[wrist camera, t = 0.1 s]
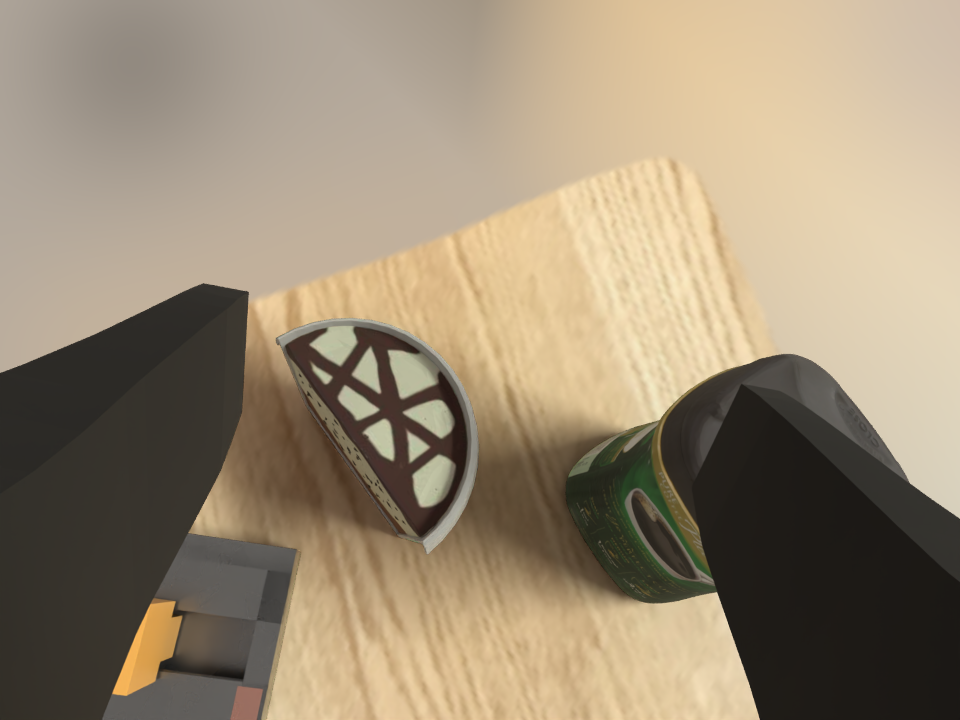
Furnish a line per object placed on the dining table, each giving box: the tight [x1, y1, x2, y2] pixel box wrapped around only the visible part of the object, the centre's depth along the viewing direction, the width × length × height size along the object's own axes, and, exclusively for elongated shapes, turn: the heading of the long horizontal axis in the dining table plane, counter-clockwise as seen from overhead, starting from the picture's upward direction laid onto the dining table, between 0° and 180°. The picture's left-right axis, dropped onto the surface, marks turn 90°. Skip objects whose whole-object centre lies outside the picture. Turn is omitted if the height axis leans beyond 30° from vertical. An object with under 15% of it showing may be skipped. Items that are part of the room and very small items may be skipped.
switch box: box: [102, 533, 301, 720], centre depth 36 cm, size 10×12×3 cm
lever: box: [112, 598, 182, 696], centre depth 34 cm, size 4×2×7 cm, turn 172°
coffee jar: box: [566, 354, 909, 603], centre depth 35 cm, size 10×8×19 cm
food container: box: [276, 318, 479, 554], centre depth 38 cm, size 12×6×10 cm, turn 37°
